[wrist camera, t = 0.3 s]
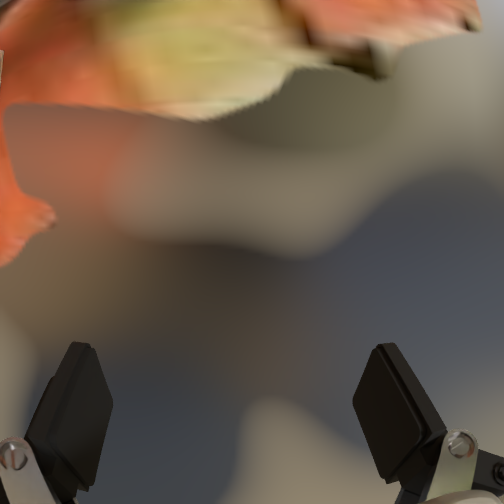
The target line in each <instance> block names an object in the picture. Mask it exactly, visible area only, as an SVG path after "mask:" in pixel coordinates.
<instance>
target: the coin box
mask: <svg viewBox="0 0 504 504" xmlns="http://www.w3.org/2000/svg"><path fill="white" fill-rule="evenodd" d="M3 56H4V50H0V85H1V73H2V64H3Z"/></svg>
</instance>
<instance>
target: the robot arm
mask: <svg viewBox="0 0 504 504" xmlns="http://www.w3.org/2000/svg"><path fill="white" fill-rule="evenodd" d="M353 407H354V409H355V412H356V414H357V417H358V420H359V422H360V425H361V427H362V430H363V433H364V435H365V438H366V440H367V443H368V446H369V448H370V451H371V453H372V456H373V459H374V462H375V464H376V467H377V470H378V472H379V475H380V477H381V478H383V479H385V481H386V484H390V483H392V482H396V481H399V482H400V484H401V489H400V492H399V494H398V496H397V498H396V501H395V503H394V504H504V458H503V457H500V456H497V455H494V454H491V453H488V452H486V451H483V450H480V449H478V443H477V440H476V438H475V437H474V435H473V434H471V433H470V432H469V431H467V430H465V429H453V430H451V431H449V432H448V431H447V430H446V426H445V424H444V423H443V421H442V419H441V418H440V416H439V414H438V412H437V411H436V409H435V407H434V405H433V404H432V402H431V400H430V399H429V397H428V395H427V394H426V392H425V390H424V389H423V387H422V385H421V384H420V382H419V380H418V379H417V377H416V376H415V374H414V372H413V371H412V369H411V367H410V366H409V365H408V363H407V361H406V360H405V358H404V357H403V355H402V353H401V352H400V350H399V349H398V347H397V346H396V344H395V343H384V344H378V345H377V346H376V348H375V349H373V350H372V352H371V355H370V357H369V360H368V362H367V365H366V368H365V370H364V373H363V375H362V377H361V380H360V382H359V385H358V387H357V389H356V392H355V394H354V396H353ZM112 408H113V399H112V396H111V394H110V391H109V389H108V386H107V383H106V381H105V377H104V375H103V372H102V369H101V366H100V363H99V360H98V357H97V354H96V351H95V349H94V348H91V346H90V344H88V343H81V342H72V343H71V345H70V346H69V348H68V350H67V352H66V354H65V356H64V358H63V360H62V362H61V364H60V366H59V368H58V370H57V372H56V374H55V376H53V377H52V378H51V379H50V381H49V383H48V385H47V387H46V389H45V391H44V393H43V396H42V398H41V400H40V402H39V404H38V407H37V409H36V411H35V413H34V415H33V418H32V420H31V423H30V425H29V427H28V430H27V432H26V434H25V437H24V439H21V438H19V437H9V438H6V439H4V440H2V441H1V442H0V504H79V503H78V502H77V500H76V498H75V497H76V493H77V489H79V490H83V491H86V492H88V490H89V486H92V485H93V484H94V482H95V477H96V473H97V469H98V464H99V460H100V455H101V451H102V447H103V443H104V439H105V435H106V430H107V427H108V423H109V419H110V416H111V412H112Z"/></svg>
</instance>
